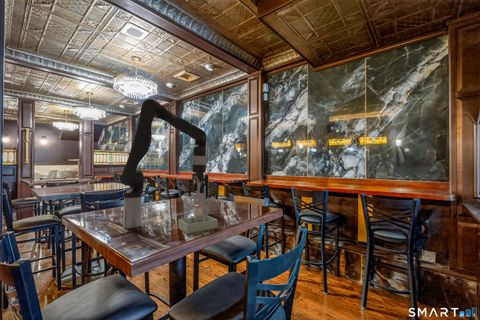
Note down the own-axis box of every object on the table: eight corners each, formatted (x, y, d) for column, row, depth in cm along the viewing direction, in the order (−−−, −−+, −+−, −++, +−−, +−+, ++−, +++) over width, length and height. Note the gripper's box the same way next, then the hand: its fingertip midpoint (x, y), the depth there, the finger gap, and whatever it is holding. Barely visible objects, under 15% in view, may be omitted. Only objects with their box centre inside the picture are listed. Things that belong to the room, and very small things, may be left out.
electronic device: (203, 217, 150) (203, 174, 151) (193, 216, 151) (193, 173, 152) (209, 213, 162) (209, 173, 163) (200, 213, 164) (200, 173, 164)
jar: (195, 218, 120) (195, 206, 121) (192, 216, 125) (192, 204, 125) (203, 217, 123) (204, 205, 124) (200, 215, 127) (200, 204, 128)
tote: (187, 234, 113) (187, 224, 113) (178, 228, 124) (178, 219, 124) (217, 228, 124) (217, 219, 124) (207, 223, 134) (207, 215, 134)
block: (194, 229, 120) (195, 218, 120) (190, 226, 125) (190, 216, 125) (204, 227, 123) (204, 217, 123) (200, 225, 128) (200, 215, 128)
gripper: (188, 163, 128) (187, 191, 128) (198, 164, 117) (197, 194, 117) (199, 164, 133) (199, 190, 132) (210, 164, 121) (210, 193, 121)
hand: (198, 192), depth 124 cm, fingers open, 8 cm apart
